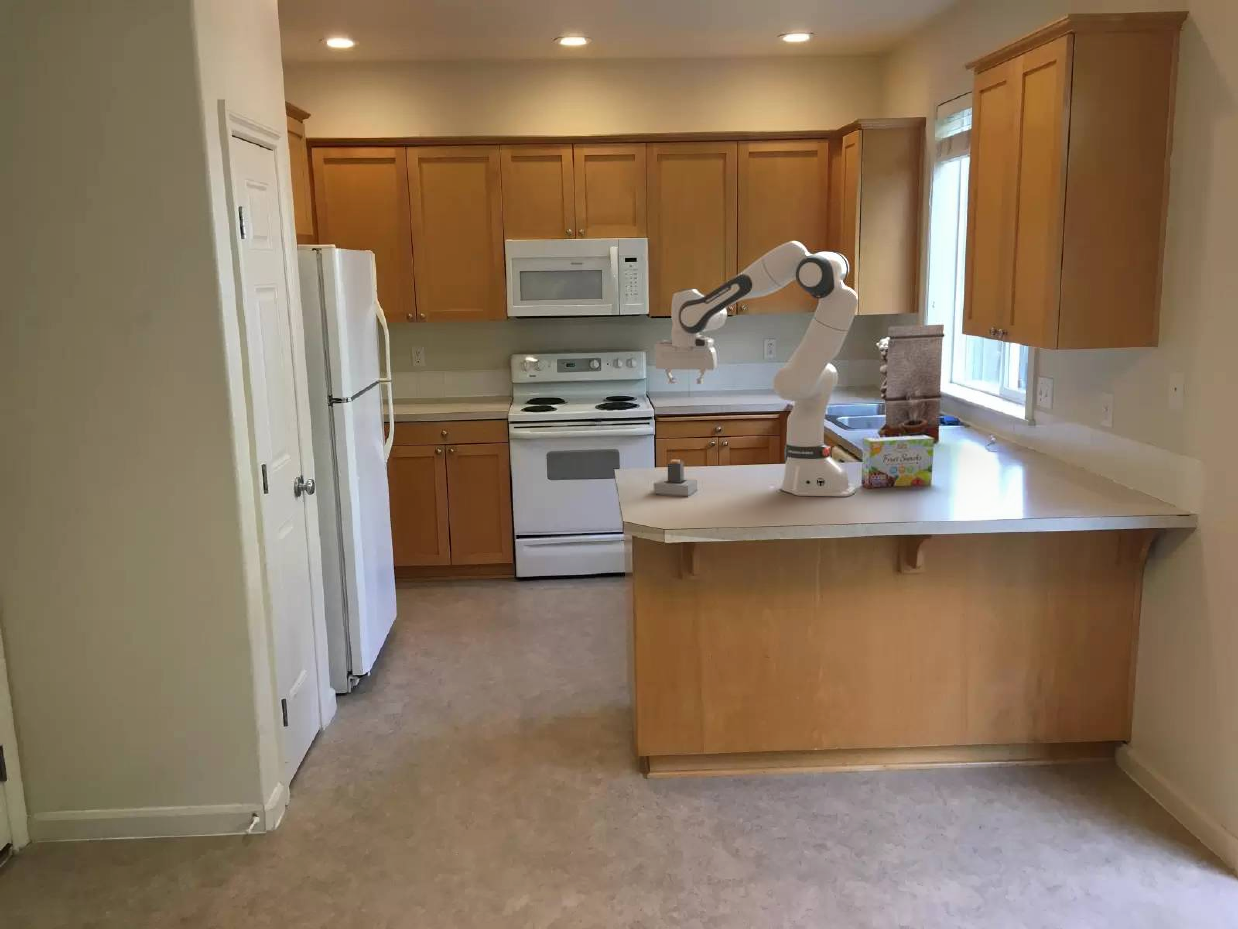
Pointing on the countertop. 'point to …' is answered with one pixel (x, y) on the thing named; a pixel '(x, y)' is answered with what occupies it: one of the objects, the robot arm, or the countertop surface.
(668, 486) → the socket plate
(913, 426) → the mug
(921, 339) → the cherub statue
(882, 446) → the snack box
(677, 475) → the plug
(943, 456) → the countertop surface
